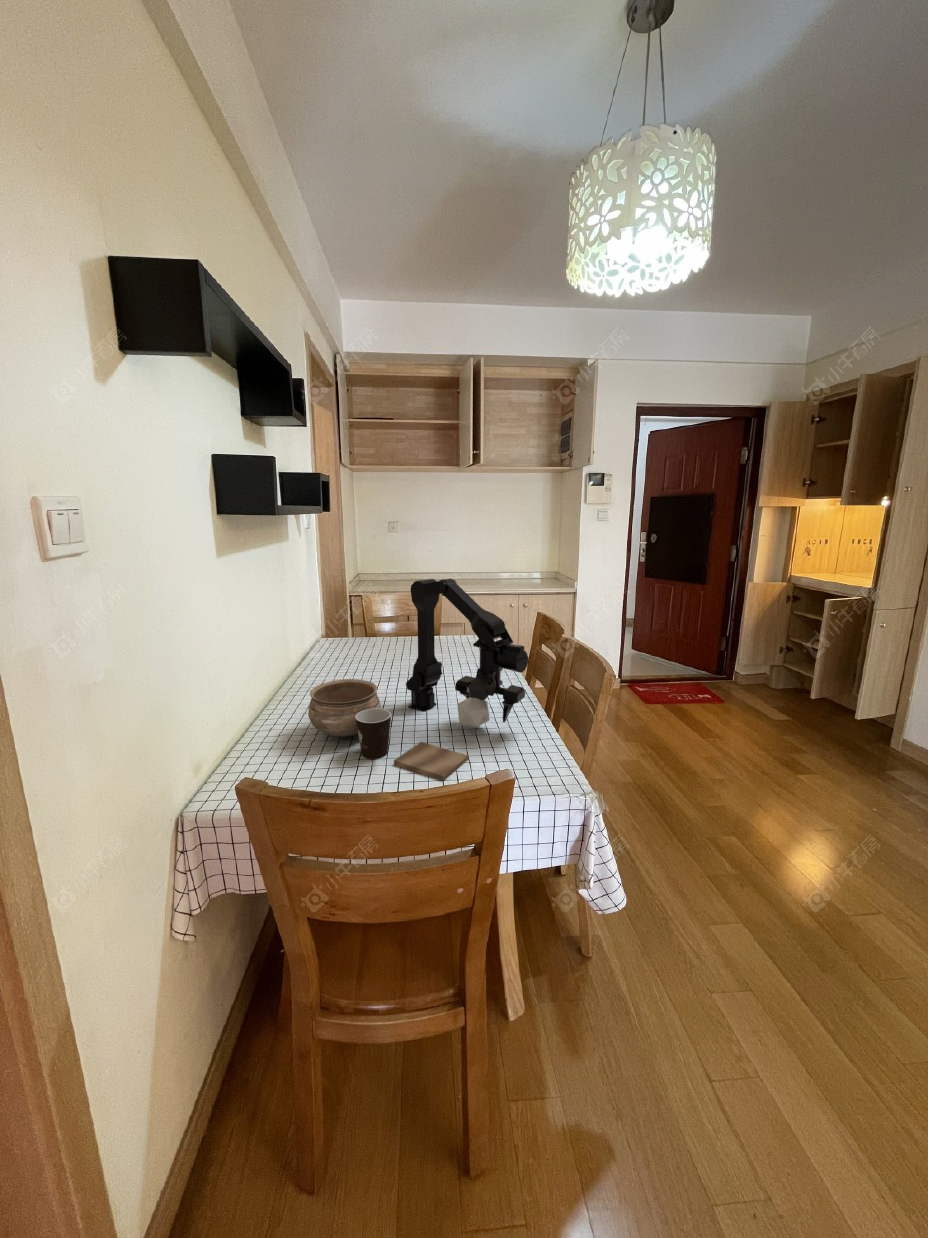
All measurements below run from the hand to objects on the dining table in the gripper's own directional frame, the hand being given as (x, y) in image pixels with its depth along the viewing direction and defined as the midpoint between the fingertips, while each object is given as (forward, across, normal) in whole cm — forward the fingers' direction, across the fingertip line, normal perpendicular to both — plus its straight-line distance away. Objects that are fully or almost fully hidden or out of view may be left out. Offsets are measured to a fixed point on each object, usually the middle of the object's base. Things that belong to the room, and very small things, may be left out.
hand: (489, 718), depth 133 cm
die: (+3, -3, -2) cm, 5 cm away
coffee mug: (+3, -17, -28) cm, 33 cm away
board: (+3, -3, -24) cm, 24 cm away
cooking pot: (+3, -32, -22) cm, 39 cm away
